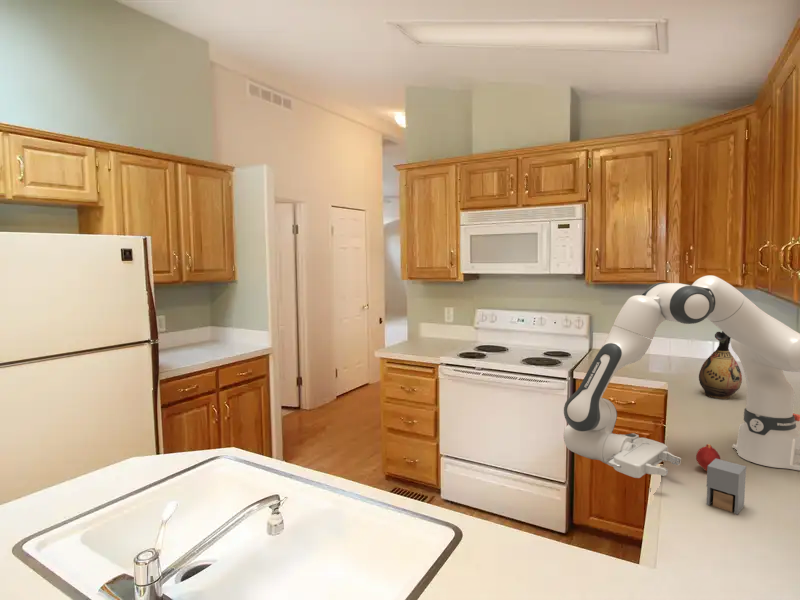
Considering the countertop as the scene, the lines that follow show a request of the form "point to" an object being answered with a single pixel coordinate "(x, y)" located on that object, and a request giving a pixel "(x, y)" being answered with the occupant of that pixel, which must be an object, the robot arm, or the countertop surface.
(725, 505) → the letter block
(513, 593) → the countertop surface
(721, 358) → the ceramic jug
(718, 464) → the grey block
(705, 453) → the pomegranate
